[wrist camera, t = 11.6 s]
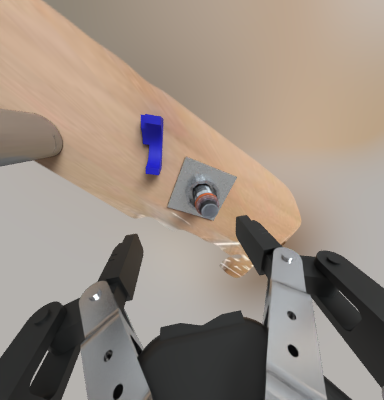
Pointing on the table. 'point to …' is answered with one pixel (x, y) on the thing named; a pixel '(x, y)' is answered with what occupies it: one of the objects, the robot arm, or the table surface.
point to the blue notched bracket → (153, 141)
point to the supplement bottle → (205, 201)
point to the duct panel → (194, 176)
